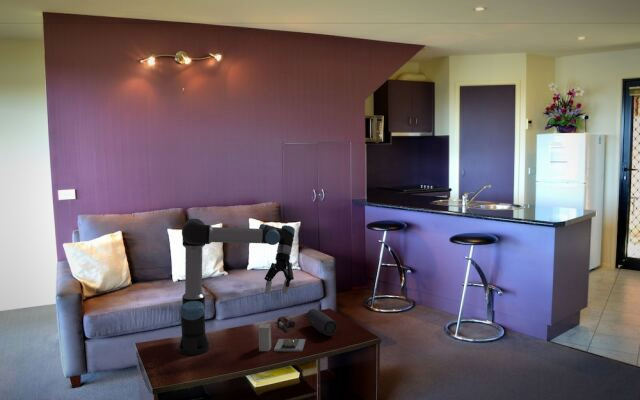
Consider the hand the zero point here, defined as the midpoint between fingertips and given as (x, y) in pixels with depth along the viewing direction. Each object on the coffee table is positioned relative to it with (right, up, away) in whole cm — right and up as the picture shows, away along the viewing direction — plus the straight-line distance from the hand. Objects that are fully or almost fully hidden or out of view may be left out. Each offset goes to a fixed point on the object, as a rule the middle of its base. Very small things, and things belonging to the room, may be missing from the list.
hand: (275, 293), depth 273 cm
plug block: (-5, -26, -9) cm, 28 cm away
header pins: (+7, -25, -11) cm, 28 cm away
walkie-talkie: (+4, -23, +25) cm, 34 cm away
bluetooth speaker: (+24, -24, +15) cm, 37 cm away
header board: (+8, -26, -6) cm, 28 cm away
